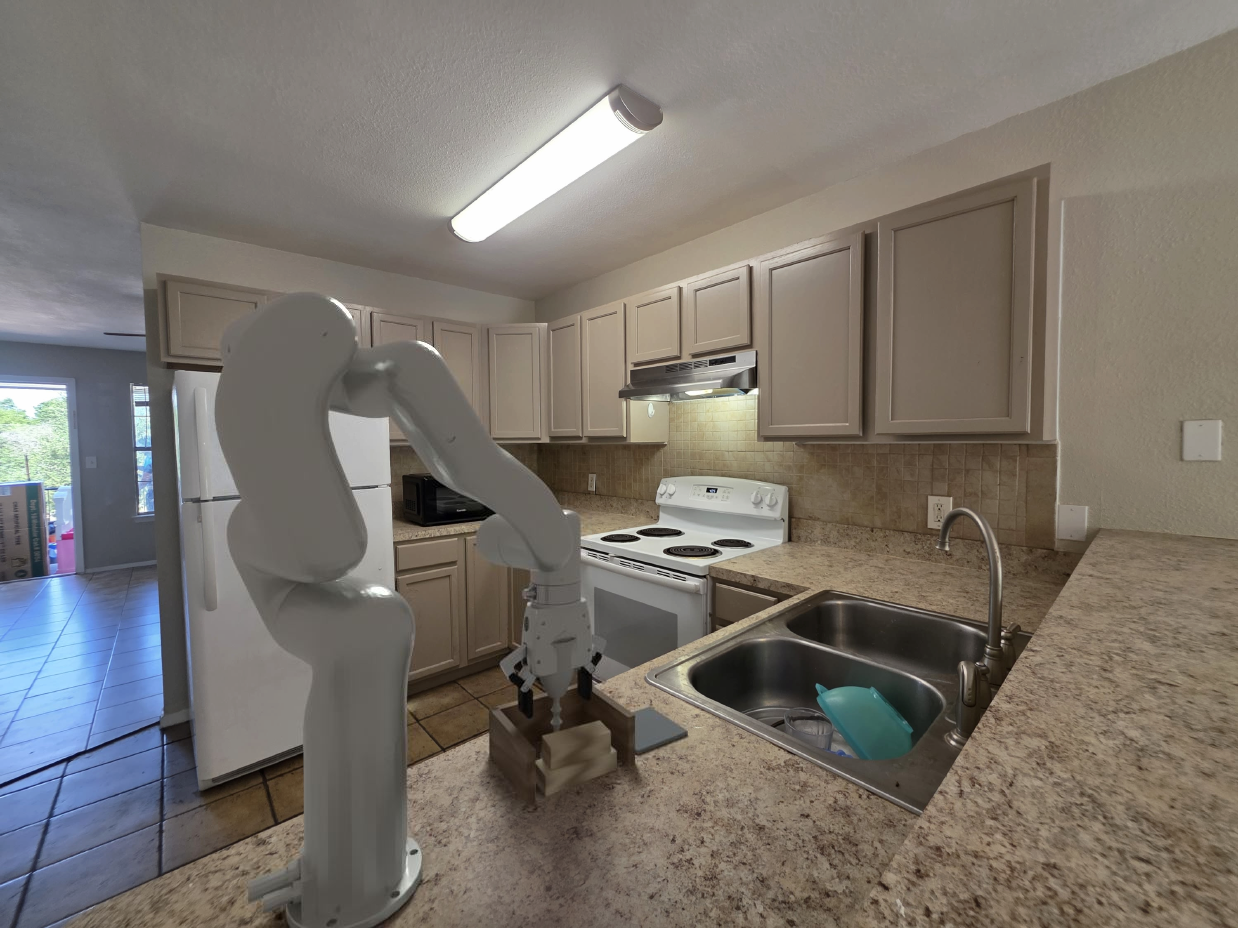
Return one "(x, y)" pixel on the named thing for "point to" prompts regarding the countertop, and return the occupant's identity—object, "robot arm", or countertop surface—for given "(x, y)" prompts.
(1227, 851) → the countertop surface
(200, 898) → the countertop surface
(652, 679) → the countertop surface
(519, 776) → the brown wooden u-shaped frame
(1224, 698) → the countertop surface
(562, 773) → the offcut lower
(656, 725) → the slate tile
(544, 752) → the offcut upper
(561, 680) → the chalice
